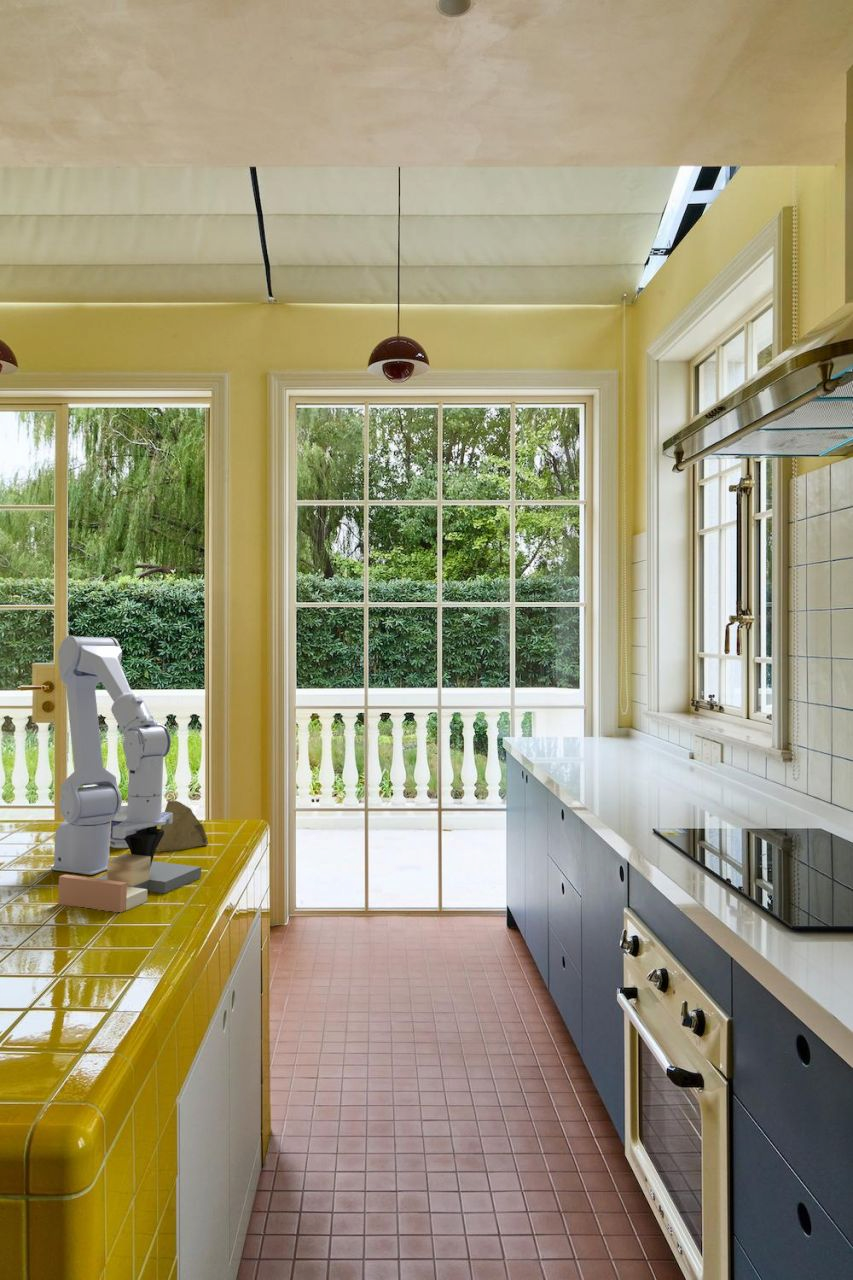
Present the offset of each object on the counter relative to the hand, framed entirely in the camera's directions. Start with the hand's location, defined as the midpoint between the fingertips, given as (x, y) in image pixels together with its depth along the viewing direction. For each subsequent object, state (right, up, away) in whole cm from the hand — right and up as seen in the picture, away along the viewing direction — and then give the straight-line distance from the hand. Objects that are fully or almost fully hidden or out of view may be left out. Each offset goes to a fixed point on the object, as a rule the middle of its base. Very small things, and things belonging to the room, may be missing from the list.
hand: (142, 871), depth 148 cm
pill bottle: (-14, -3, +30) cm, 33 cm away
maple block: (-1, -1, -4) cm, 4 cm away
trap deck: (-1, -3, -2) cm, 3 cm away
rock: (-2, -4, +30) cm, 30 cm away
